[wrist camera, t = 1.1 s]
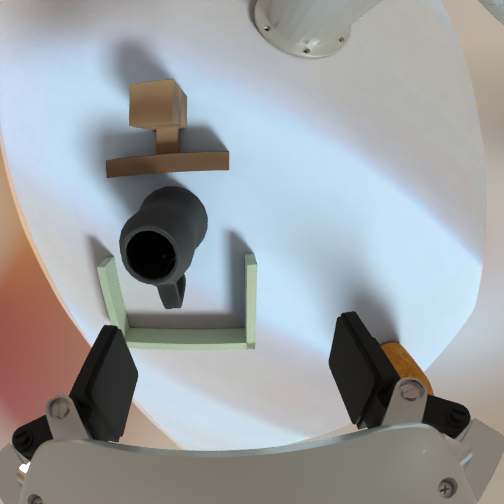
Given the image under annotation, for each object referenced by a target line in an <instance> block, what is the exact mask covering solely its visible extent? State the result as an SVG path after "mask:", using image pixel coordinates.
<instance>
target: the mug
mask: <svg viewBox="0 0 504 504" xmlns="http://www.w3.org/2000/svg"><path fill="white" fill-rule="evenodd" d="M207 222H208V217H207V214H206V211H205V208H204V206H203V204H202V203H201V201H200V200H199V199H198V197H197V196H195V195H194V194H193V193H191V192H190V191H188V190H186V189H183V188H180V187H164V188H161V189H158V190H155V191H154V192H153V193H152V194H150V195H149V196H148V197H147V198H146V199H145V201H144V202H143V204H142V206H141V208H140V211H138V212H137V213H136V214H135V215H133V216H132V217H131V218H130V219H129V220H127V222H126V224H125V225H124V227H123V229H122V230H121V235H120V240H119V245H120V253H121V256H122V262H123V264H124V266H125V268H126V270H127V271H128V272H129V273H130V275H131V276H132V277H134V278H135V279H137V280H138V281H140V282H143V283H146V284H152V285H154V286H157V288H158V292H159V295H160V298H161V301H162V303H163V305H164V307H165V308H166V309H172V308H181V306H182V302H183V297H184V292H185V286H186V278H185V275H184V273H185V271H186V270H187V269H188V268H189V266H190V264H191V261H192V258H193V255H194V251H195V249H196V248H197V247H198V246H199V244H200V243H201V242H202V240H203V239H204V237H205V234H206V231H207Z"/></svg>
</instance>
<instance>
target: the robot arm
mask: <svg viewBox="0 0 504 504" xmlns="http://www.w3.org/2000/svg"><path fill="white" fill-rule="evenodd" d="M382 1H383V0H257V3H256V5H255V9H254V19H255V23H256V26H257V28H258V30H259V32H260V33H261V34H262V35H263V37H264V38H265V39H266V40H267V41H268V42H269V43H271V44H272V45H273V46H275V47H276V48H278V49H279V50H282V51H284V52H286V53H288V54H291V55H294V56H297V57H303V58H323V57H327V56H330V55H332V54H334V53H336V52H338V51H339V50H340V49H341V48H343V47H344V46H345V44H346V43H347V41H348V39H349V37H350V31H351V27H350V25H352V24H353V23H354V22H355V21H357V20H358V19H359V18H360V17H362V16H363V15H364V14H365V13H367V12H368V11H369V10H371V9H372V8H373V7H375V6H376V5H377V4H379V3H380V2H382ZM478 1H479V2H480V3H481V4H482V5H483V6H484V7H485V8H486V9H487V10H488V11H489V12H490V13H491V14H492V15H493V16H494V17H495V18H496V19H497V20H498V21H500V22H501V23H502V24H503V25H504V0H478ZM265 30H268V31H265ZM303 51H305V52H306V53H304V52H303ZM329 367H330V370H331V372H332V375H333V377H334V379H335V382H336V384H337V387H338V389H339V392H340V394H341V397H342V399H343V401H344V404H345V406H346V409H347V411H348V414H349V416H350V419H351V421H352V423H353V424H356V425H357V427H358V429H362V428H366V427H367V428H368V429H366V430H361V431H358V432H354V433H350V434H346V435H341V436H337V437H332V438H327V439H322V440H317V441H312V442H306V443H300V444H294V445H287V446H279V447H271V448H261V449H248V450H230V451H188V450H169V449H156V448H147V447H139V446H131V445H124V444H116V443H110V442H108V441H114V442H119V437H122V436H123V433H124V429H125V425H126V421H127V417H128V413H129V409H130V405H131V401H132V397H133V394H134V390H135V386H136V383H137V379H138V371H137V368H136V366H135V364H134V361H133V359H132V356H131V354H130V351H129V349H128V346H127V343H126V341H125V338H124V335H123V333H122V330H121V329H118V327H117V326H115V325H104V326H103V328H102V329H101V331H100V333H99V335H98V337H97V339H96V341H95V343H94V345H93V347H92V348H91V351H90V352H89V355H88V356H87V358H86V360H85V362H84V364H83V366H82V368H81V371H80V373H79V375H78V377H77V379H76V381H75V383H74V386H73V388H72V390H71V392H70V394H69V397H68V396H65V395H58V396H55V397H53V398H52V399H50V400H49V401H48V403H47V405H46V408H45V413H46V415H44V416H42V417H40V418H38V419H36V420H34V421H32V422H30V423H28V424H25V425H23V426H22V427H19V428H18V429H17V430H16V431H15V432H14V434H13V438H12V443H13V444H12V445H11V444H10V443H8V444H7V445H6V446H5V447H4V448H3V449H2V450H1V451H0V498H1V499H2V501H3V503H4V504H478V503H477V502H478V501H479V499H480V497H481V496H482V494H483V492H484V490H485V489H486V487H487V485H488V483H489V481H490V480H491V477H492V476H493V474H494V472H495V470H496V468H497V465H498V463H499V461H500V459H501V456H502V454H503V452H504V436H503V435H502V434H500V433H499V432H497V431H495V430H494V429H492V428H490V427H489V426H487V425H486V424H484V423H482V422H481V421H479V420H477V419H476V418H474V419H473V420H472V419H470V414H469V411H468V409H467V408H466V407H464V406H463V405H461V404H459V403H455V402H452V401H448V400H445V399H442V398H439V397H435V396H432V395H429V394H428V390H427V387H426V385H425V384H424V383H423V382H422V381H421V380H420V379H417V378H415V377H405V378H402V379H401V378H400V376H399V374H398V373H397V371H396V370H395V368H394V366H393V365H392V363H391V362H390V360H389V359H388V357H387V355H386V354H385V352H384V351H383V349H382V348H381V346H380V345H379V343H378V342H377V340H376V339H375V338H373V337H372V336H371V335H370V333H369V332H368V330H367V328H366V327H365V325H364V324H363V322H362V321H361V319H360V318H359V316H358V315H357V314H356V312H354V311H353V312H346V313H342V314H341V316H340V317H338V318H337V322H336V327H335V333H334V338H333V343H332V347H331V352H330V357H329Z"/></svg>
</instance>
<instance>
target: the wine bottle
mask: <svg viewBox="0 0 504 504" xmlns="http://www.w3.org/2000/svg"><path fill="white" fill-rule="evenodd" d="M381 348H382V349H383V351H384V352H385V354H386V355H387V357H388V359H389V360H390V362H391V363H392V365H393V366H394V368H395V370H396V371H397V373H398V374H399V376H400V378H401V379H402V378H405V377H415V378H417V379H420V380H421V381H422V382H423V383H424V384H425V385H426V387H427V390H428V394H429V395H432V396H434V394H433V390H432V388H431V385H430V382H429V380H428V379H427V377H426V376H425V375H424V373H423V371H422V370H421V369H420V367H419V366H418V365H417V363H416V362H415V361H414V360H413V358H412V357H411V356H410V355H409V353H408V352H407V351H406V350H405V349H404V348H403V346H401V345H400V344H399V343H396V342H389V343H386V344H383V345H381Z"/></svg>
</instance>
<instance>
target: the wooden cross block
mask: <svg viewBox="0 0 504 504" xmlns="http://www.w3.org/2000/svg"><path fill="white" fill-rule="evenodd" d="M129 126H133V127H138V128H143V129H147V130H152V131H156V148H157V155H148V156H138V157H129V158H121V159H113V160H107V161H106V171H107V178H110V177H119V176H129V175H140V174H152V173H166V172H184V171H209V170H229V151H222V152H191V153H180V129H184V128H187V96H186V95H185V93H184V92H183V91H182V89H181V88H180V87H179V86H178V84H177V83H176V82H175V80H174V79H167V80H159V81H151V82H144V83H137V84H131V85H130V108H129Z"/></svg>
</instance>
